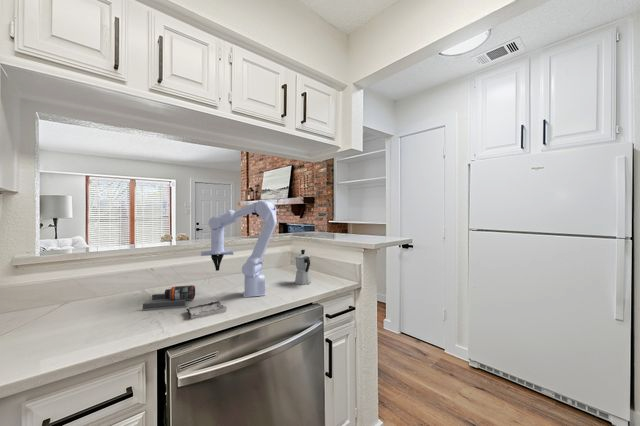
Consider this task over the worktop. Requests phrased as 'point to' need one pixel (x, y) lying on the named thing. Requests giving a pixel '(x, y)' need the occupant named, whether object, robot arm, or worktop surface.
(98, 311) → the worktop surface
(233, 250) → the robot arm
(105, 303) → the worktop surface
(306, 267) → the coffee maker
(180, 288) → the supplement bottle
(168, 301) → the mat
